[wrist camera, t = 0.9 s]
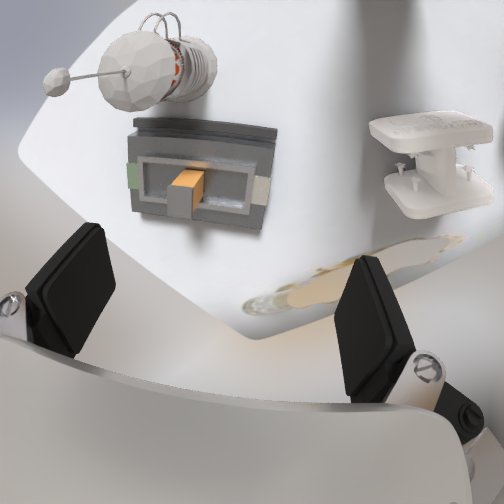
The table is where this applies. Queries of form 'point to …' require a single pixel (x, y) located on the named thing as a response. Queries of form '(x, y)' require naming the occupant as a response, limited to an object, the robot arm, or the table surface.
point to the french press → (147, 70)
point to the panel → (215, 174)
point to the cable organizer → (434, 162)
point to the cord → (206, 126)
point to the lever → (185, 194)
